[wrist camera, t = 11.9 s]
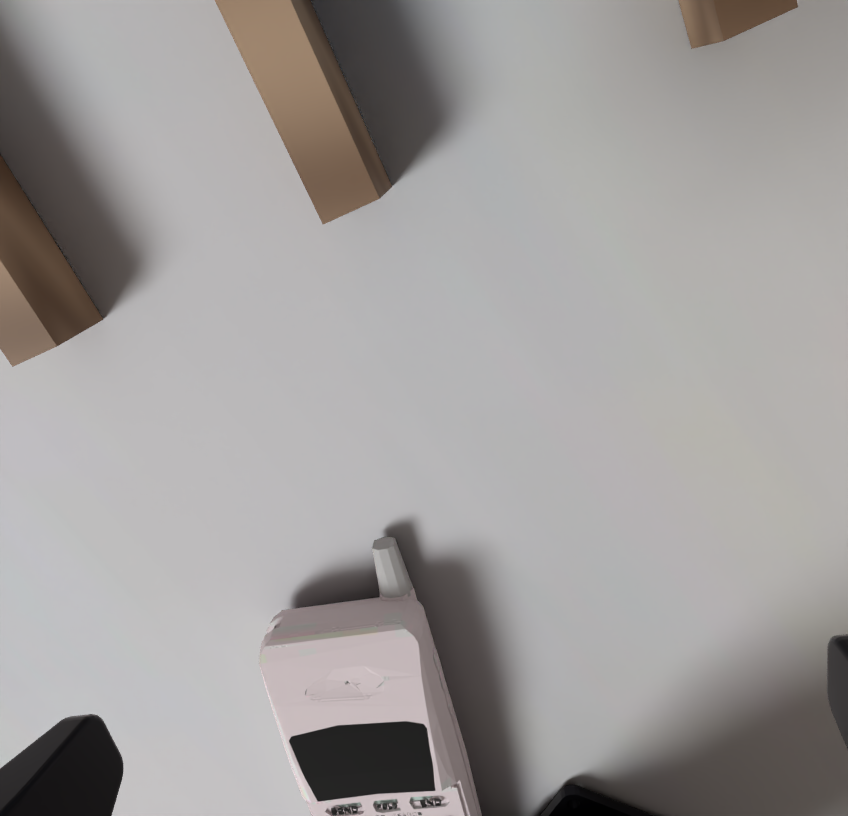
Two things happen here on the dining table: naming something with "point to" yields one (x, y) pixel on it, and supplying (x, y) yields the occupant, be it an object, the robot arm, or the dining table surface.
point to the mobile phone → (367, 704)
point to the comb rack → (303, 138)
